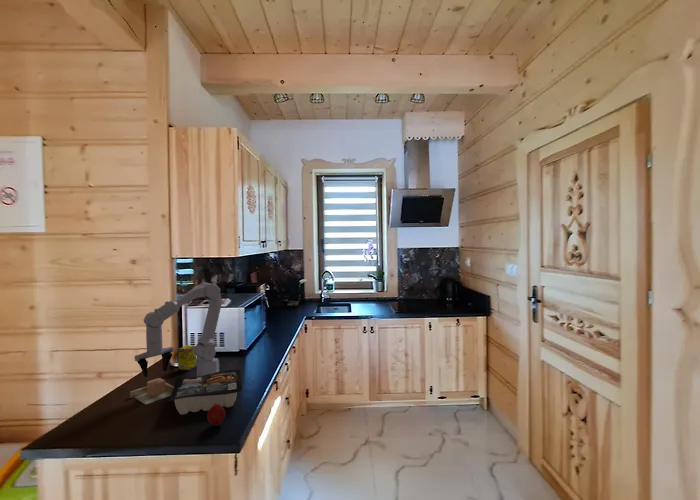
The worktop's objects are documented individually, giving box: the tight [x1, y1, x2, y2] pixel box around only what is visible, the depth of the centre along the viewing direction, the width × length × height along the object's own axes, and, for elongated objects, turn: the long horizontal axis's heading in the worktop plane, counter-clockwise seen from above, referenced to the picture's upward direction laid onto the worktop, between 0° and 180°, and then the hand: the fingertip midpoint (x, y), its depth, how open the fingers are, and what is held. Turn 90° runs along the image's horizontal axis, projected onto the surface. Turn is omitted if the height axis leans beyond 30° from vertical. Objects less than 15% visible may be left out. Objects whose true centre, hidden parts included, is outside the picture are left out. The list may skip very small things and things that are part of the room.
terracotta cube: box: [146, 377, 166, 397], centre depth 143 cm, size 5×5×5 cm
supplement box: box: [177, 344, 197, 372], centre depth 170 cm, size 6×6×11 cm
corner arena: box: [129, 381, 174, 406], centre depth 141 cm, size 13×13×2 cm
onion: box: [206, 403, 226, 427], centre depth 117 cm, size 6×6×8 cm
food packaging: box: [167, 369, 243, 416], centre depth 136 cm, size 25×8×23 cm
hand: (155, 373), depth 143 cm, fingers open, 7 cm apart
